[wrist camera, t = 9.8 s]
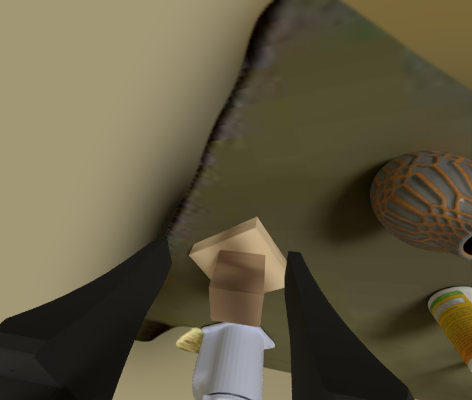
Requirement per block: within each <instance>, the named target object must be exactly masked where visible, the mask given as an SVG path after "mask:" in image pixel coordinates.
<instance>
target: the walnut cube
mask: <svg viewBox="0 0 472 400" xmlns="http://www.w3.org/2000/svg"><path fill="white" fill-rule="evenodd" d="M264 278H265V255H261V254H252V253H244V252H235V251H227V250H220V252H219V255H218V259H217V262H216V265H215V269H214V272H213V275H212V278H211V282H210V285H209V298H210V313H211V320H215V321H221V322H227V323H234V324H240V325H247V326H253V327H259V328H260V322H261V314H262V306H263V298H264Z"/></svg>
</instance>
